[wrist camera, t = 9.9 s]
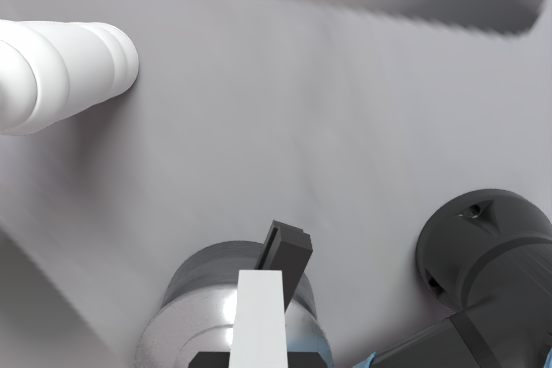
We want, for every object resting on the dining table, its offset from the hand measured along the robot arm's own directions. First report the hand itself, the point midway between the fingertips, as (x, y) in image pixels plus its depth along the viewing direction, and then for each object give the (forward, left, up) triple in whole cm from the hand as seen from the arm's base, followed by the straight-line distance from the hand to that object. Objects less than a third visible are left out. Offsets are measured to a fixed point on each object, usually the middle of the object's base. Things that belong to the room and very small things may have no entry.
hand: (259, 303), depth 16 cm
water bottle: (+17, 0, -33) cm, 37 cm away
